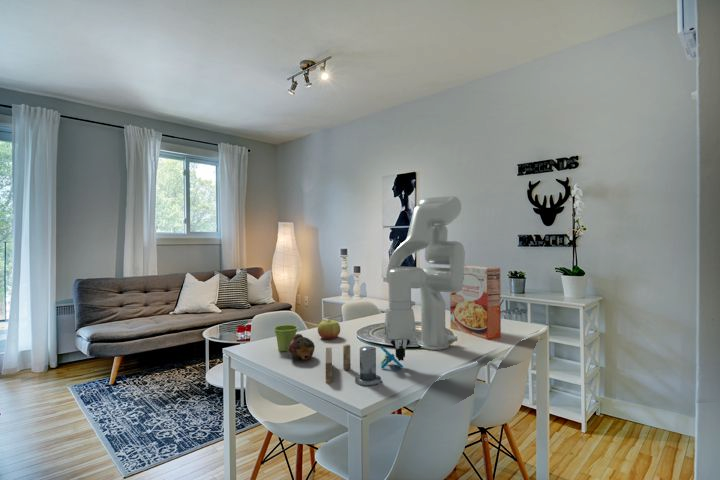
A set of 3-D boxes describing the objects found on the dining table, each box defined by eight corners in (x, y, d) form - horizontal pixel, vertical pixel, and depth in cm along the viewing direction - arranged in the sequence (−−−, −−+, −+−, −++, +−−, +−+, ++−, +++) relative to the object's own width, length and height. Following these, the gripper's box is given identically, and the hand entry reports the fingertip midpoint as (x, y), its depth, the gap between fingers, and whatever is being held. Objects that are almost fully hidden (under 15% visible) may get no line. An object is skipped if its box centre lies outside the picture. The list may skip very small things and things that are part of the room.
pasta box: (450, 328, 182) (450, 265, 182) (463, 326, 186) (462, 264, 185) (487, 339, 162) (486, 269, 161) (500, 337, 165) (500, 268, 165)
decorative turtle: (306, 350, 149) (307, 330, 149) (320, 365, 136) (322, 343, 135) (282, 353, 144) (283, 332, 144) (294, 368, 131) (295, 345, 131)
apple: (336, 334, 174) (336, 316, 174) (343, 339, 165) (343, 321, 165) (315, 336, 170) (315, 318, 170) (321, 342, 161) (320, 323, 161)
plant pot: (303, 349, 151) (302, 327, 151) (283, 354, 145) (283, 331, 144) (288, 344, 158) (288, 323, 158) (269, 349, 151) (269, 327, 151)
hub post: (379, 375, 122) (378, 344, 122) (382, 385, 114) (382, 352, 114) (354, 376, 121) (353, 345, 121) (356, 386, 113) (355, 353, 113)
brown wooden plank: (332, 364, 133) (331, 347, 133) (332, 382, 117) (332, 362, 117) (326, 364, 133) (326, 347, 132) (325, 382, 117) (325, 363, 116)
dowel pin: (350, 367, 129) (350, 344, 129) (350, 370, 127) (350, 346, 127) (343, 368, 129) (343, 344, 129) (343, 370, 127) (343, 346, 127)
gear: (407, 368, 124) (385, 346, 124) (395, 381, 123) (372, 360, 123) (401, 361, 135) (380, 341, 135) (389, 374, 134) (369, 354, 134)
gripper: (418, 303, 134) (419, 355, 134) (376, 304, 132) (377, 356, 132) (424, 307, 126) (424, 362, 126) (379, 308, 125) (380, 364, 125)
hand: (400, 359), depth 129 cm, fingers closed
